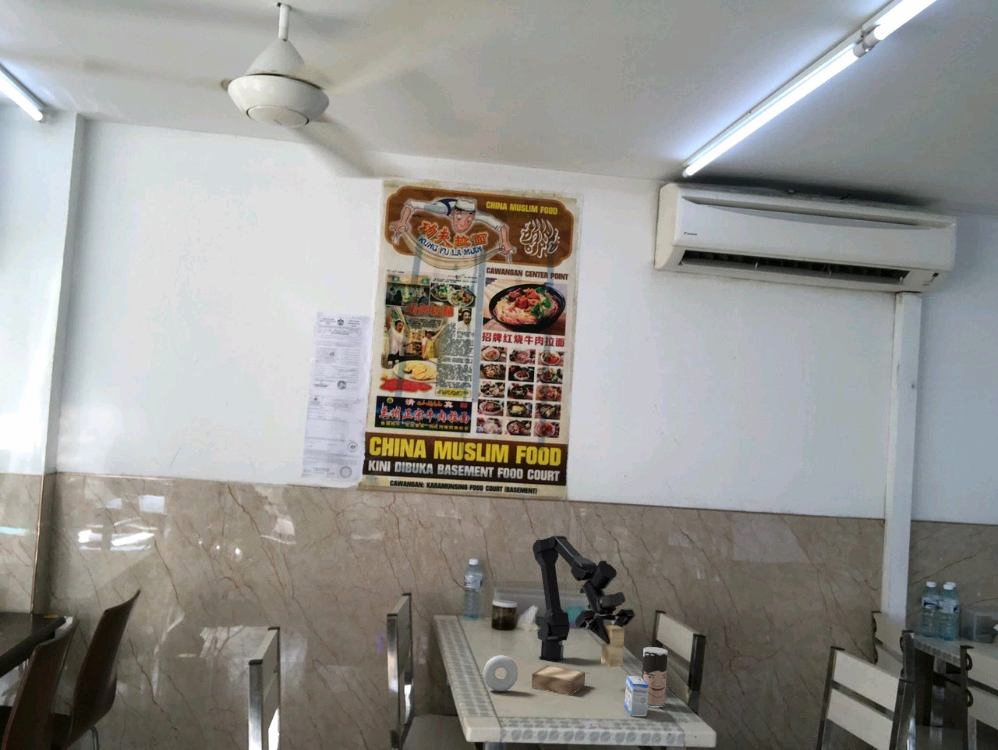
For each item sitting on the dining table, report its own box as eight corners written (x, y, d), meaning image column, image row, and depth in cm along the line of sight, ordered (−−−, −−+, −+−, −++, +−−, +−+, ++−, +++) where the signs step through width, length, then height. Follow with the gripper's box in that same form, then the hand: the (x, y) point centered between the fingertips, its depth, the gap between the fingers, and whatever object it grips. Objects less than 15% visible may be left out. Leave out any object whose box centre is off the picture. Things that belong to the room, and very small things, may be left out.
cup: (638, 705, 240) (641, 650, 241) (642, 699, 247) (645, 645, 248) (663, 709, 238) (666, 654, 239) (666, 703, 244) (668, 649, 246)
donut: (516, 690, 247) (518, 654, 248) (517, 693, 244) (520, 657, 245) (481, 688, 246) (483, 653, 247) (482, 692, 243) (484, 656, 244)
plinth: (531, 687, 251) (532, 673, 251) (547, 678, 261) (547, 664, 262) (570, 695, 246) (571, 681, 246) (584, 685, 256) (585, 671, 257)
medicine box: (624, 707, 238) (625, 675, 239) (639, 708, 238) (641, 676, 239) (630, 716, 230) (632, 683, 231) (647, 717, 230) (649, 684, 231)
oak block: (601, 663, 257) (603, 625, 258) (613, 662, 259) (615, 624, 260) (609, 667, 253) (612, 628, 254) (622, 666, 255) (624, 628, 256)
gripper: (582, 583, 257) (601, 629, 247) (633, 581, 266) (654, 626, 255) (566, 604, 264) (584, 650, 253) (616, 602, 272) (636, 647, 262)
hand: (615, 643), depth 256 cm, fingers closed on oak block, 4 cm apart
